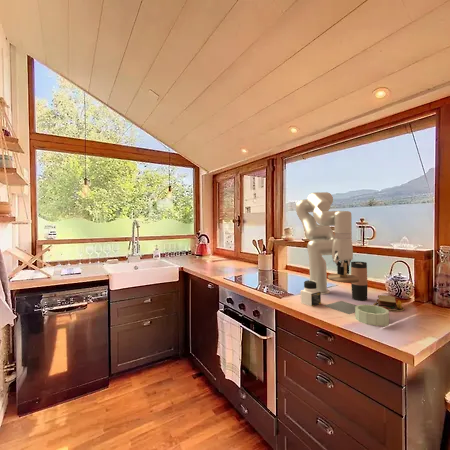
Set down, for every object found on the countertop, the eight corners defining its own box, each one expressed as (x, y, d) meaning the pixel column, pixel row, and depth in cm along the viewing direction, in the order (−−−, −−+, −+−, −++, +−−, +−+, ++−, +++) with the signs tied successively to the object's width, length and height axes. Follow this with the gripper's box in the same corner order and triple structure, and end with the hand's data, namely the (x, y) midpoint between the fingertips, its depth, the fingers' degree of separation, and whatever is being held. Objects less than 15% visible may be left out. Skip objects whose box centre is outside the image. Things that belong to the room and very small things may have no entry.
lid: (321, 278, 124) (321, 262, 124) (339, 274, 131) (339, 259, 131) (347, 284, 112) (347, 266, 112) (365, 280, 119) (365, 263, 119)
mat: (323, 306, 124) (323, 305, 124) (341, 301, 130) (341, 300, 130) (349, 315, 111) (349, 314, 111) (367, 309, 118) (367, 308, 118)
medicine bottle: (311, 307, 123) (311, 283, 123) (300, 303, 129) (299, 280, 129) (321, 304, 127) (320, 281, 127) (309, 301, 133) (309, 278, 133)
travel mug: (354, 296, 138) (353, 261, 138) (369, 299, 133) (368, 262, 133) (349, 300, 133) (348, 262, 133) (365, 303, 128) (364, 264, 128)
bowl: (349, 319, 107) (349, 307, 107) (366, 313, 113) (366, 302, 113) (378, 329, 96) (377, 316, 96) (395, 322, 102) (394, 310, 102)
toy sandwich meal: (371, 310, 118) (371, 300, 118) (375, 302, 129) (374, 293, 129) (404, 315, 110) (404, 304, 110) (404, 307, 121) (404, 297, 121)
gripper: (346, 235, 128) (346, 270, 129) (325, 237, 120) (325, 274, 121) (360, 235, 122) (360, 273, 122) (338, 238, 114) (339, 277, 114)
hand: (343, 273), depth 121 cm, fingers closed on lid, 3 cm apart
